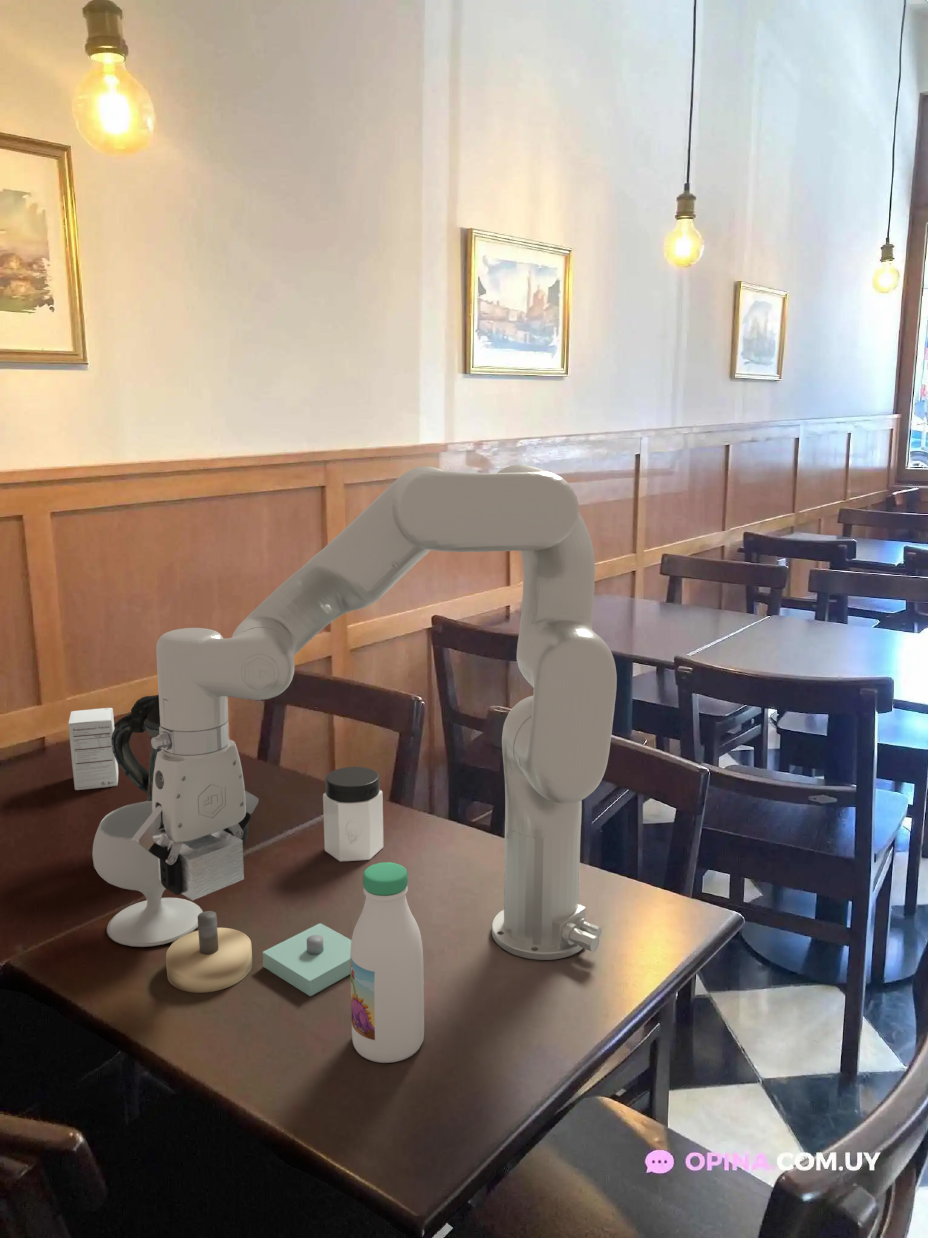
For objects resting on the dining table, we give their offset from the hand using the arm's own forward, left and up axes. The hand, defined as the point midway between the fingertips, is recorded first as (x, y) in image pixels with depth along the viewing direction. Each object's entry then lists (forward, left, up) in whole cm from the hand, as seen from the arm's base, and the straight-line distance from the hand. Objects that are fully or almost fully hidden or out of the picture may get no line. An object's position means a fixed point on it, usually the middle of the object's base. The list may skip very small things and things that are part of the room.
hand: (201, 877), depth 115 cm
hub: (0, 0, -12) cm, 12 cm away
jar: (+11, -33, -12) cm, 37 cm away
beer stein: (+32, -17, -12) cm, 38 cm away
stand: (-9, -9, -12) cm, 18 cm away
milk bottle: (-26, -5, -12) cm, 29 cm away
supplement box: (+66, -20, -12) cm, 70 cm away
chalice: (+14, -1, -12) cm, 19 cm away
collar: (0, 0, 0) cm, 0 cm away
